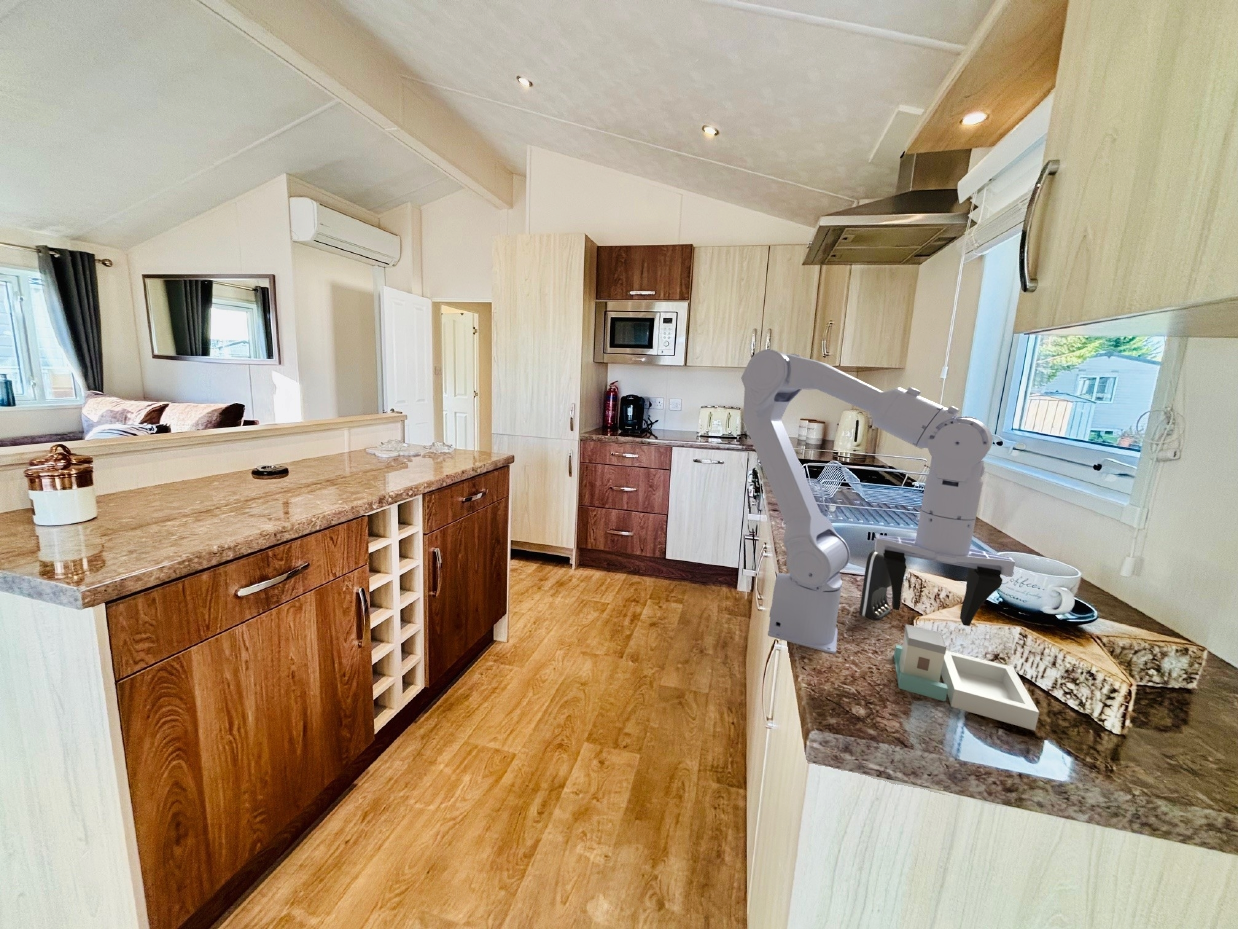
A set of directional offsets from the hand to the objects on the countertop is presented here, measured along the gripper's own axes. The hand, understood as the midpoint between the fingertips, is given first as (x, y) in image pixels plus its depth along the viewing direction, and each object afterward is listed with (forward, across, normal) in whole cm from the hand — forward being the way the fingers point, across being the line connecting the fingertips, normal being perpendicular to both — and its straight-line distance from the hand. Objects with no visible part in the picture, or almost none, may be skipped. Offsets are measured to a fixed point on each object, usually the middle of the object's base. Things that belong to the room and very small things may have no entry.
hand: (929, 614), depth 62 cm
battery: (+9, -4, +18) cm, 21 cm away
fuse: (+9, 0, 0) cm, 9 cm away
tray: (+9, +7, 0) cm, 12 cm away
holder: (+9, 0, 0) cm, 9 cm away
